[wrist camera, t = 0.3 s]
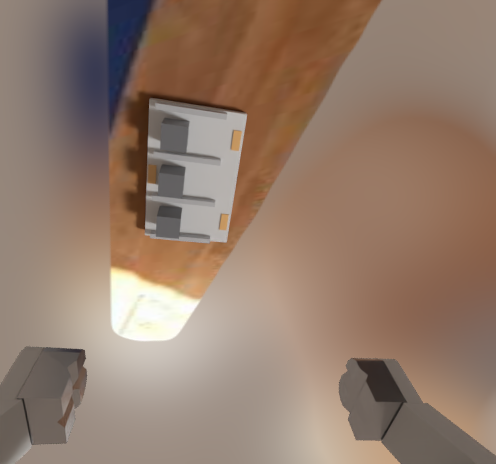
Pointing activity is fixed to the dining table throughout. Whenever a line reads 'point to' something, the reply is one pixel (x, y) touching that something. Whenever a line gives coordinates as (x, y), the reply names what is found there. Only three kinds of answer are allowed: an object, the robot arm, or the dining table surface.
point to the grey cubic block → (171, 181)
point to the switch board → (196, 169)
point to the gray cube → (174, 135)
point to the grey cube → (168, 222)
